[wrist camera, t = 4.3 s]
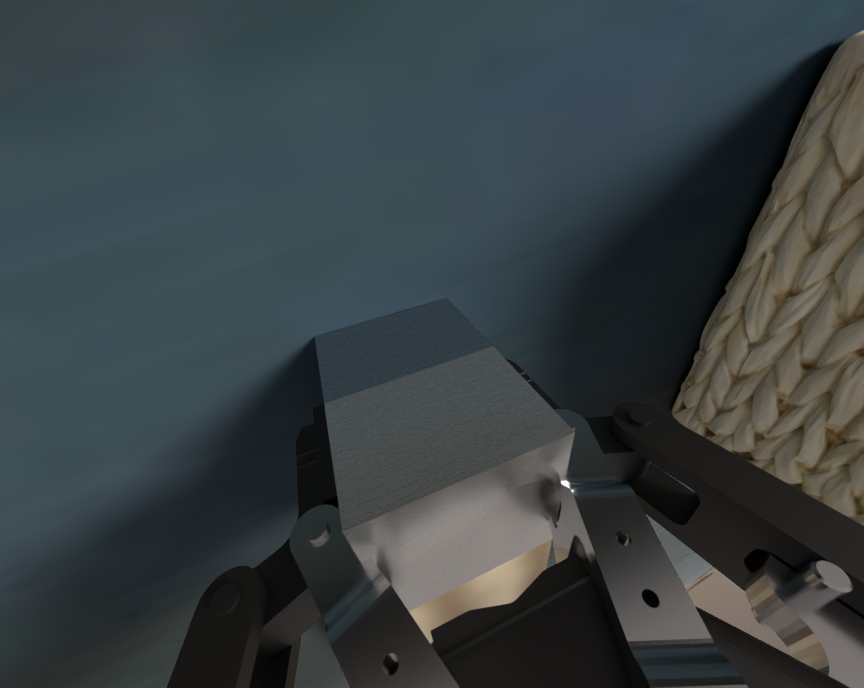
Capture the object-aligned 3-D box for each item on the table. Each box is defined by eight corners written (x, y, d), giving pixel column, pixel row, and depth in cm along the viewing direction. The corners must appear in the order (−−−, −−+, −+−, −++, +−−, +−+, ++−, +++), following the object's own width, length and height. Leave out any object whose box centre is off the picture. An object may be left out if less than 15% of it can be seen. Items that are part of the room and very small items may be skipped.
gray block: (447, 298, 12) (575, 431, 7) (459, 409, 16) (549, 555, 11) (314, 337, 11) (342, 532, 6) (359, 447, 15) (402, 632, 9)
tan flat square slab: (527, 480, 22) (556, 521, 20) (519, 563, 31) (539, 599, 28) (323, 572, 19) (328, 634, 17) (375, 638, 28) (383, 685, 25)
